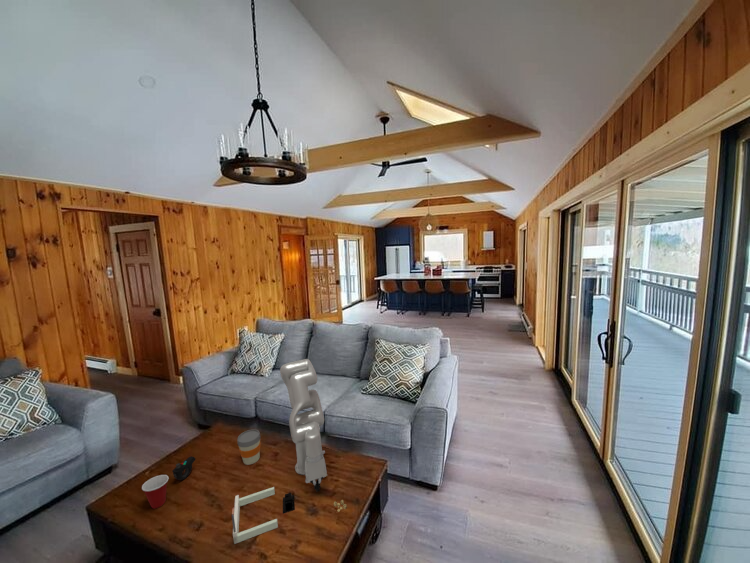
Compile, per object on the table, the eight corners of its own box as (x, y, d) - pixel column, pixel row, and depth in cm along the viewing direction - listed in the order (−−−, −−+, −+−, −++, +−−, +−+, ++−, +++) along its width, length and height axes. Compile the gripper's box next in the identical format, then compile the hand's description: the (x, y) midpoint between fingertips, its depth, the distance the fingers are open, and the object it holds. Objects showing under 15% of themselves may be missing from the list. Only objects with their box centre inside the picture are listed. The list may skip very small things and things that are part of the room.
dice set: (333, 505, 144) (333, 502, 144) (343, 501, 146) (343, 497, 146) (336, 514, 139) (336, 510, 139) (347, 509, 141) (346, 506, 141)
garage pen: (274, 492, 153) (272, 468, 151) (277, 527, 134) (274, 501, 132) (236, 505, 147) (233, 481, 145) (234, 544, 127) (230, 516, 125)
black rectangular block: (281, 496, 151) (280, 488, 150) (296, 492, 153) (295, 484, 152) (281, 517, 139) (280, 508, 138) (297, 513, 141) (296, 504, 140)
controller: (172, 484, 162) (170, 467, 161) (192, 467, 174) (189, 451, 173) (179, 485, 161) (176, 468, 160) (198, 468, 173) (195, 452, 171)
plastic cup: (177, 496, 154) (173, 475, 152) (157, 514, 144) (153, 492, 142) (160, 492, 157) (157, 471, 155) (139, 510, 147) (135, 488, 145)
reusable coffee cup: (254, 449, 187) (252, 426, 185) (267, 456, 179) (264, 433, 177) (235, 461, 177) (232, 438, 175) (247, 470, 169) (244, 445, 167)
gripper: (327, 446, 154) (330, 479, 156) (297, 455, 149) (301, 489, 151) (331, 455, 147) (334, 489, 150) (300, 465, 142) (303, 500, 144)
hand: (317, 489), depth 150 cm, fingers closed
